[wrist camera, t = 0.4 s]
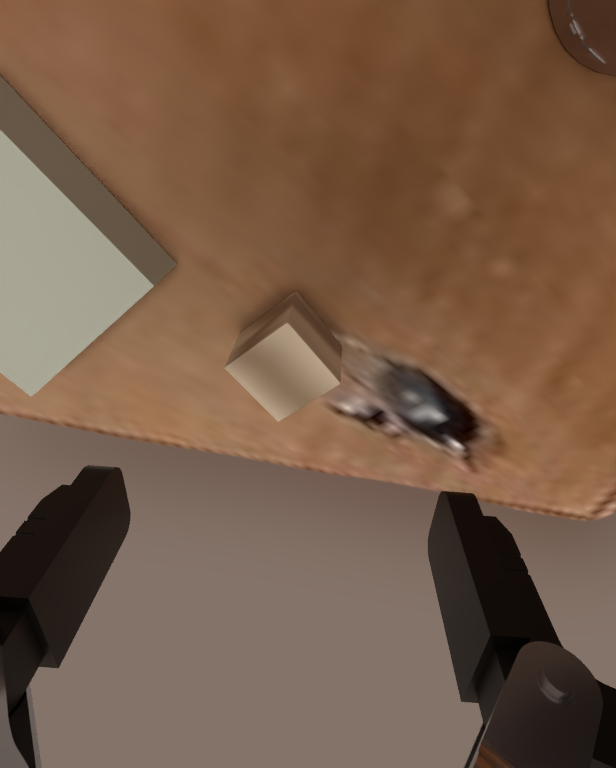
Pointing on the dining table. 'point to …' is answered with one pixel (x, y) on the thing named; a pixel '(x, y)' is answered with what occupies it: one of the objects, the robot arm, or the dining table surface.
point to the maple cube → (286, 358)
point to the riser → (60, 251)
